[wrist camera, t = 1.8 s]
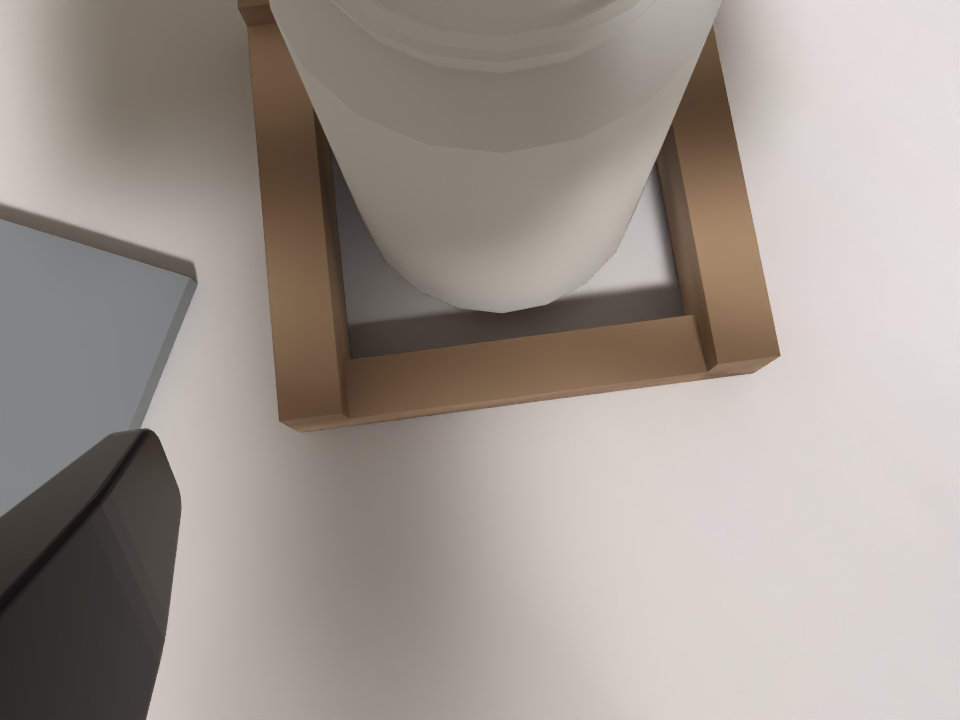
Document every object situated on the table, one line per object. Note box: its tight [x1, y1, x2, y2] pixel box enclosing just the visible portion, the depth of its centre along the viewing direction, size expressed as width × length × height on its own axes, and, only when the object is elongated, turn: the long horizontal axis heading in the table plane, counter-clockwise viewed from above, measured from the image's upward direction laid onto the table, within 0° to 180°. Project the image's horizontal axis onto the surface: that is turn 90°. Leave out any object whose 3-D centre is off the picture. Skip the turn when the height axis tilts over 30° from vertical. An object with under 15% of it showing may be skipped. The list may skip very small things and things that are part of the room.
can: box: [269, 0, 723, 313], centre depth 18 cm, size 8×8×12 cm
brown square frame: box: [238, 0, 780, 432], centre depth 22 cm, size 12×12×3 cm
